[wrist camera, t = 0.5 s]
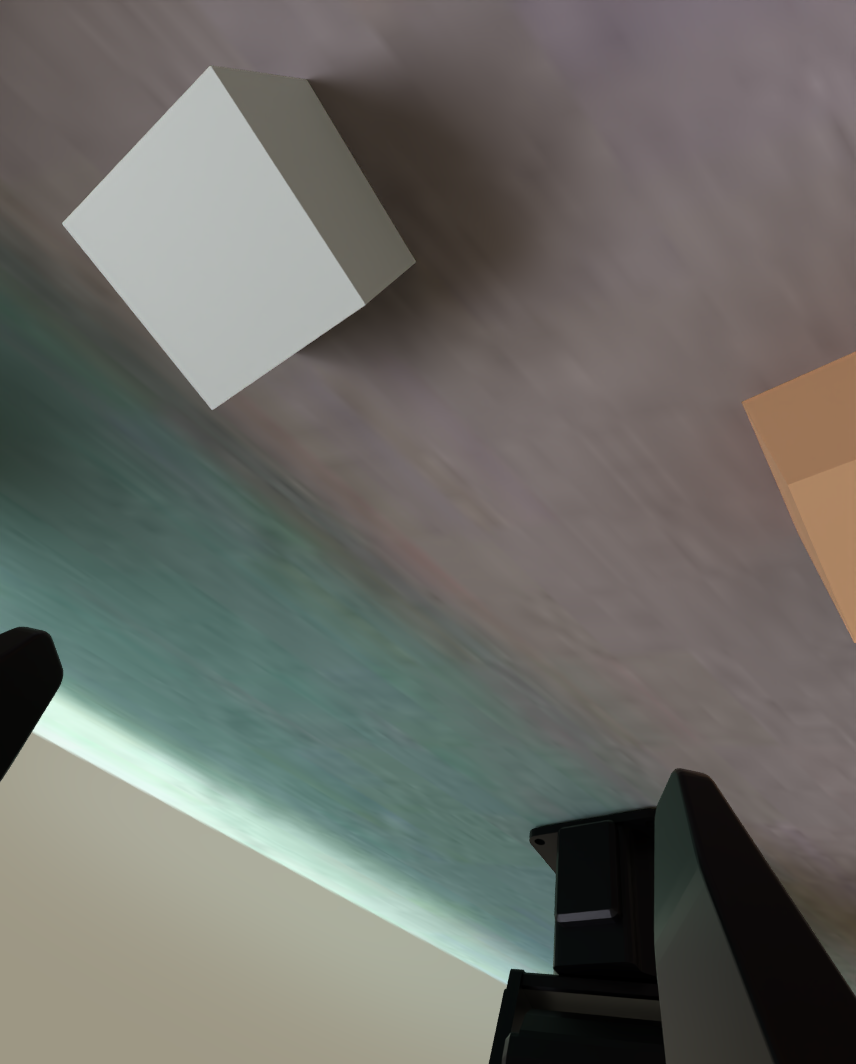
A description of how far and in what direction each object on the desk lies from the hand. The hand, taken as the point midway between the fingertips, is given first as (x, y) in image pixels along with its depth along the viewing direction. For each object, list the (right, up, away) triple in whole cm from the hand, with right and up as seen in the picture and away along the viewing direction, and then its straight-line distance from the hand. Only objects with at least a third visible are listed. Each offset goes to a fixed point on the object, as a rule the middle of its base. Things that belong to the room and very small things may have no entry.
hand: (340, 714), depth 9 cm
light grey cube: (-3, +11, +9) cm, 15 cm away
